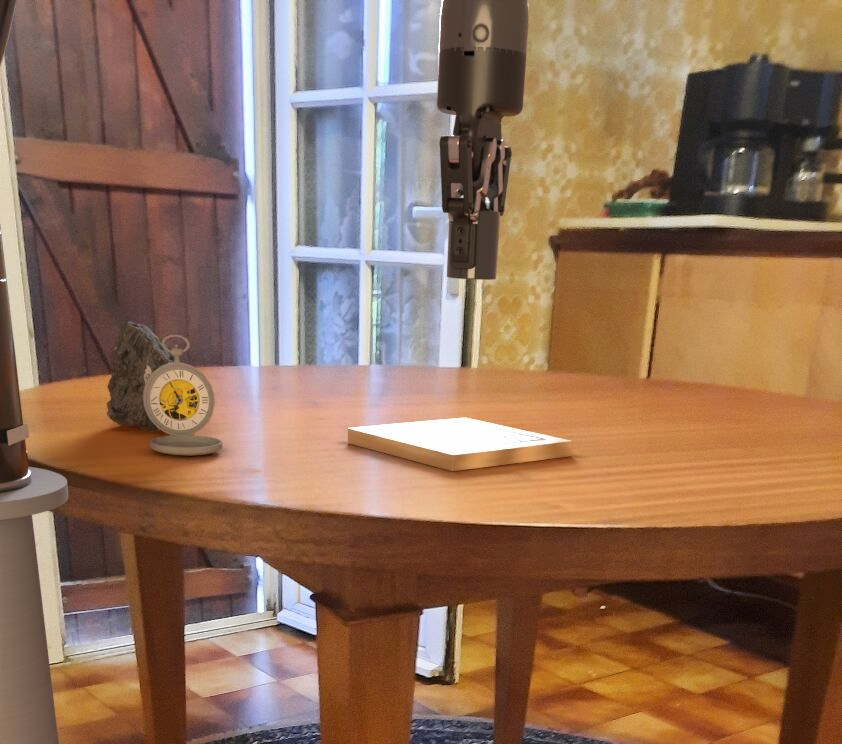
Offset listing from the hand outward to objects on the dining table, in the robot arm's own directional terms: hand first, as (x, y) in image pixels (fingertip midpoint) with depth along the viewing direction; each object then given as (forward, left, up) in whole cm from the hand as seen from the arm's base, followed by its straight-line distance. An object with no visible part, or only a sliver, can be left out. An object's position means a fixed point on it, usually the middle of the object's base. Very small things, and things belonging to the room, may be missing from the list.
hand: (471, 267), depth 99 cm
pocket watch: (-23, +13, -17) cm, 32 cm away
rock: (-19, +25, -17) cm, 36 cm away
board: (+1, +1, -17) cm, 17 cm away
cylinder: (0, 0, -1) cm, 1 cm away
